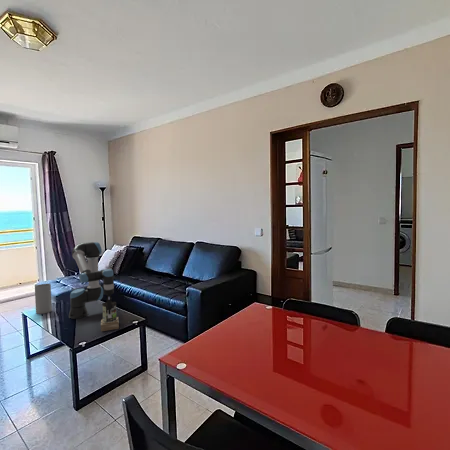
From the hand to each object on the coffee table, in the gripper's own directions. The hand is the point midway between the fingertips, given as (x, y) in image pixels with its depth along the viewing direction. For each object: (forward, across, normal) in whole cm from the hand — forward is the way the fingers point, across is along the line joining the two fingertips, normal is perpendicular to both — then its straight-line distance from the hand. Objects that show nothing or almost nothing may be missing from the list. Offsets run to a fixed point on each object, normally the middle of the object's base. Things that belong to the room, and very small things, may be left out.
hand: (109, 315), depth 231 cm
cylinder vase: (+10, -63, -57) cm, 86 cm away
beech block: (+10, 0, 0) cm, 10 cm away
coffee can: (+5, 0, 0) cm, 5 cm away
